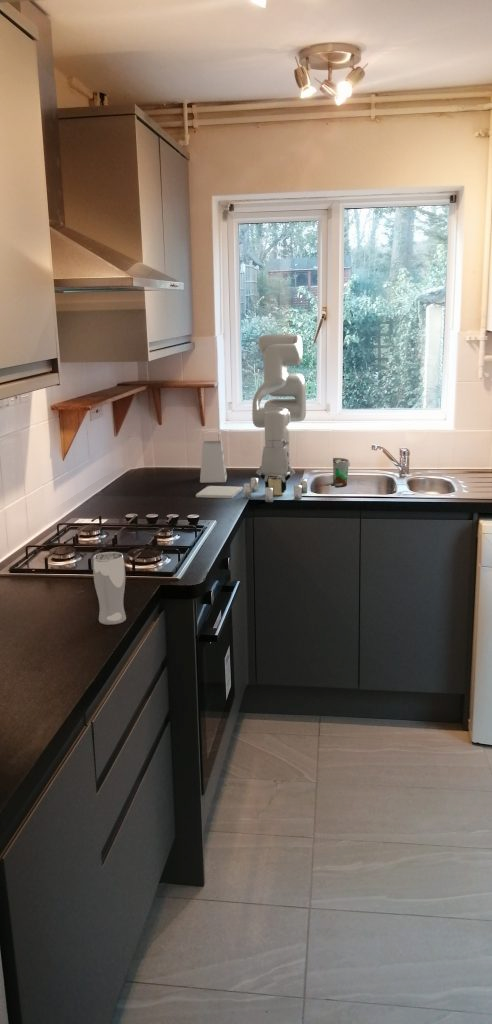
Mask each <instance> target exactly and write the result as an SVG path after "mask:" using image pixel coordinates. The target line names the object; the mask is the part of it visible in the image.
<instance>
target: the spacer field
mask: <svg viewBox="0 0 492 1024" xmlns="http://www.w3.org/2000/svg"><path fill="white" fill-rule="evenodd" d="M277 477H281V476H277ZM252 491H254V492H253V493H257V492H256V491H258V492H259V477H251V478H250V483H247V482H246V483H243V498H244V497H245V498H244V499H249V498H248V497H251V498H252ZM307 493H308V479H307V478H300V479H299V484H294V485H293V499H294V500H295V499H296V501H297V500H302V499H303V497H302V496H303V494H307ZM264 494H265V498H264V499H265V502H266V503H273V502H274V495H273V487H266V488H265V487H264Z"/></svg>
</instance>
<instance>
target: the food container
mask: <svg viewBox="0 0 492 1024" xmlns="http://www.w3.org/2000/svg"><path fill="white" fill-rule="evenodd" d="M350 466H351V464H350V461H349V459H348V458H345V457H333V458H332V470H333V471H332V472H333V473H332V478H333V480H332V481H333V482H332V483H333V486H334V488H336V489H337V488H345V487H347V486H348V476H349V468H350Z"/></svg>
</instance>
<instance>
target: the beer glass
mask: <svg viewBox="0 0 492 1024" xmlns="http://www.w3.org/2000/svg"><path fill="white" fill-rule="evenodd" d="M92 559H93V562H92V563H93V564H92V566H93V567H92V569H93V570H92V571H93V572H92V574H93V582H94V588H95V591H96V594H97V598H98V604H99V615H98V622H99V624H102V625H106V626H107V625H111V626H112V625H113V626H114V625H118V624H121V623H124V622H125V621H126V619H127V615H126V611H125V607H124V597H125V596H124V594H125V586H126V568H125V560H124V555H123V553H122V552H118V551H107V552H106V551H105V552H104V551H103V552H99V553H97V554H95V555H93V557H92Z"/></svg>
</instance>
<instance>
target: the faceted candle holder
mask: <svg viewBox="0 0 492 1024" xmlns="http://www.w3.org/2000/svg"><path fill="white" fill-rule="evenodd" d="M281 483H282V477H278V476H269V479H268V487H273V497H274V496H275V497H276V496H282V495H283V494H284V493H282V492H281Z"/></svg>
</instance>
